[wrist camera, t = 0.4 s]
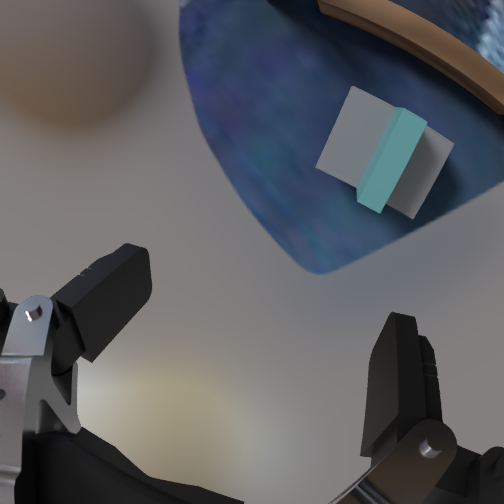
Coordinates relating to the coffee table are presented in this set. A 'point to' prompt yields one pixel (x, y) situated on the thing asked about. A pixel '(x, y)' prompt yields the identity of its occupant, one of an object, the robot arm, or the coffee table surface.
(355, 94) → the balance stand
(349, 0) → the walnut beam
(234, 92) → the coffee table surface
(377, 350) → the robot arm
